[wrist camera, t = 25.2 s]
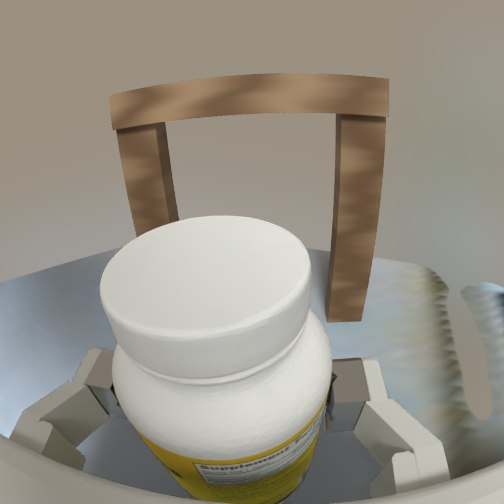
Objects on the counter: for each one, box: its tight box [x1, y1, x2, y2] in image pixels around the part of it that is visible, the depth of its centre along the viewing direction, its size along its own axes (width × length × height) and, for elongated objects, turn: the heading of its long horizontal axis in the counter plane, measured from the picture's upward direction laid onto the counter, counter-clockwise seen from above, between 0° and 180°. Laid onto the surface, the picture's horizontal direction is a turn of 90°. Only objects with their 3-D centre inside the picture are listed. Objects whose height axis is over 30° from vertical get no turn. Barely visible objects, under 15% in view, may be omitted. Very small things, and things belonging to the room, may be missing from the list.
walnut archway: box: [108, 73, 389, 322], centre depth 23 cm, size 18×3×20 cm, turn 86°
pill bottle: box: [100, 216, 332, 504], centre depth 9 cm, size 6×6×11 cm
